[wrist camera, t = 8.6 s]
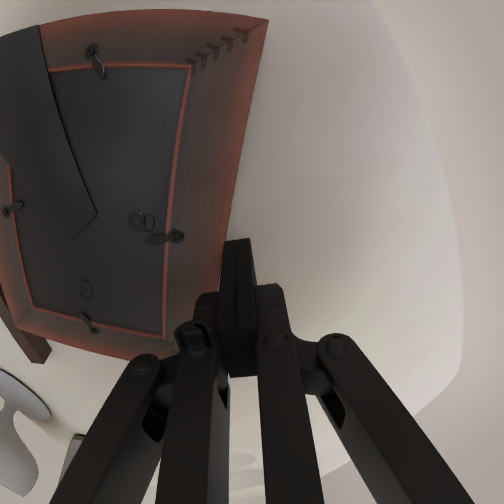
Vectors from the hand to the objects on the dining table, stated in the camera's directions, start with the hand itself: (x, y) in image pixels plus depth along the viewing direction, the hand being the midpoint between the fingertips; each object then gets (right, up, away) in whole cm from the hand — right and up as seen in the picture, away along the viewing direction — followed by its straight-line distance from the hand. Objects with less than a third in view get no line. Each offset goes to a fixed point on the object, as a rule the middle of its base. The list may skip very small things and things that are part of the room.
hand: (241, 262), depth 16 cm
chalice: (-33, -20, +11) cm, 40 cm away
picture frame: (-9, +4, 0) cm, 10 cm away
